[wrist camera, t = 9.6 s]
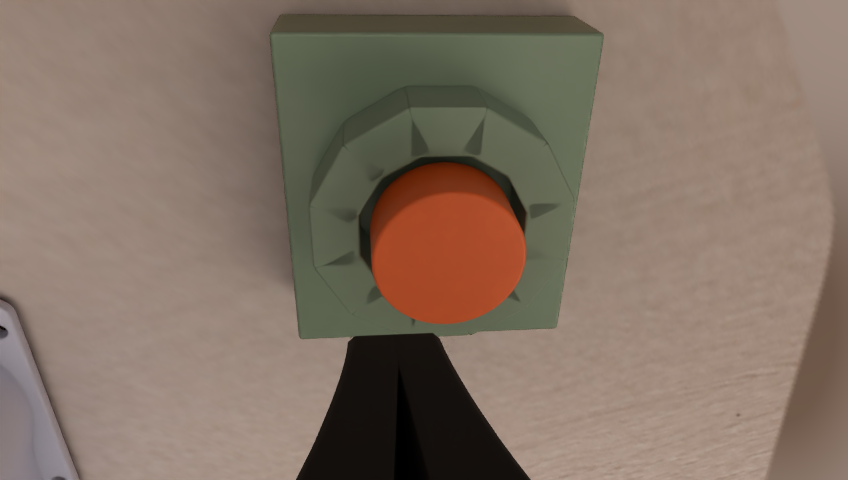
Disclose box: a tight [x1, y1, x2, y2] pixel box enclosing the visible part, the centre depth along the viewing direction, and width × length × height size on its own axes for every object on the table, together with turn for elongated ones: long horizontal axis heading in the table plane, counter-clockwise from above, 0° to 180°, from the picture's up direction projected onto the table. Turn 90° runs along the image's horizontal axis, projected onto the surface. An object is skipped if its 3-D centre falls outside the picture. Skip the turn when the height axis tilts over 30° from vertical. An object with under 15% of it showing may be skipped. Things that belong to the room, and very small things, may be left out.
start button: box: [370, 162, 526, 324], centre depth 15 cm, size 4×4×2 cm
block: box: [269, 14, 604, 339], centre depth 17 cm, size 9×8×4 cm
